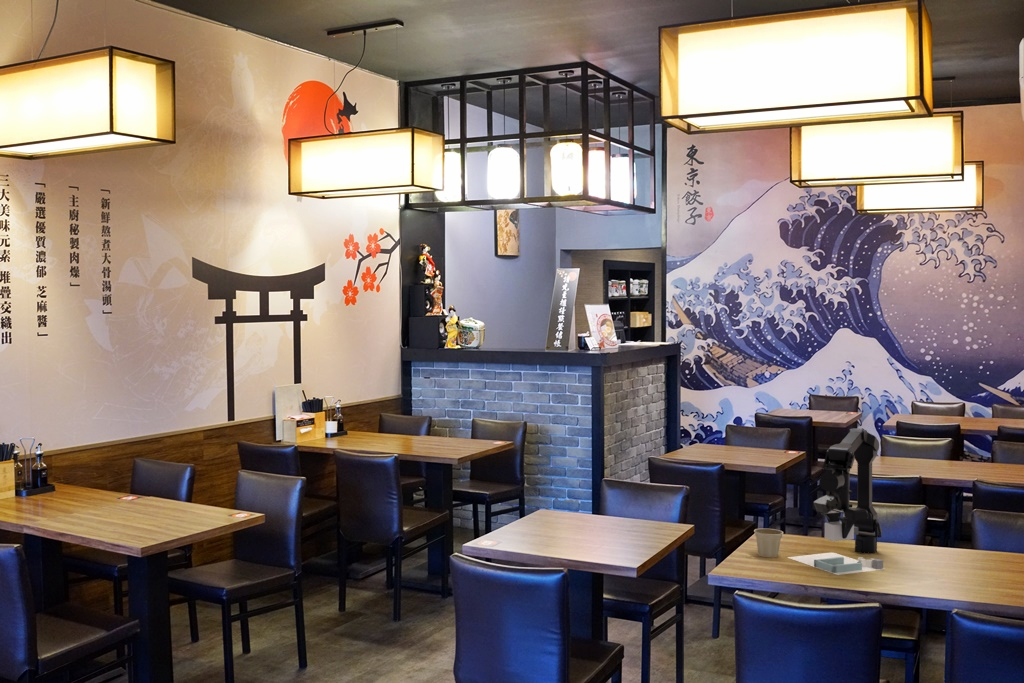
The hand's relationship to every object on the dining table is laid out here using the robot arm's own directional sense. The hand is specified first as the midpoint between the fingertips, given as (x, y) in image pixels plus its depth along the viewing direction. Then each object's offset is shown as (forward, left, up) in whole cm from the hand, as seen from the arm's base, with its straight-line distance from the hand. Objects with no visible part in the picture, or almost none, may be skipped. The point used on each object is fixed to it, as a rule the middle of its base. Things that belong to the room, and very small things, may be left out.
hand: (839, 537), depth 291 cm
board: (-3, -5, -10) cm, 12 cm away
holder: (+1, 0, -10) cm, 10 cm away
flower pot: (+10, -22, -11) cm, 26 cm away
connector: (-1, 0, -1) cm, 1 cm away
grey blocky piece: (-10, +3, -10) cm, 14 cm away
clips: (-10, +1, -10) cm, 14 cm away
